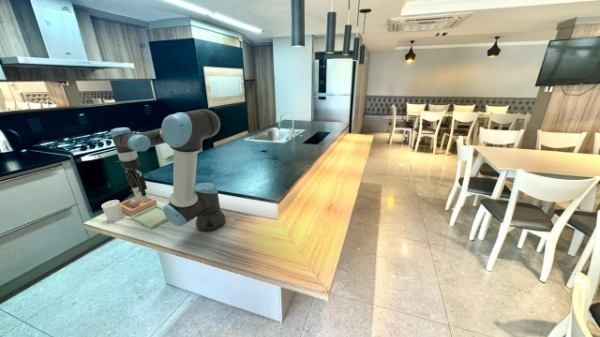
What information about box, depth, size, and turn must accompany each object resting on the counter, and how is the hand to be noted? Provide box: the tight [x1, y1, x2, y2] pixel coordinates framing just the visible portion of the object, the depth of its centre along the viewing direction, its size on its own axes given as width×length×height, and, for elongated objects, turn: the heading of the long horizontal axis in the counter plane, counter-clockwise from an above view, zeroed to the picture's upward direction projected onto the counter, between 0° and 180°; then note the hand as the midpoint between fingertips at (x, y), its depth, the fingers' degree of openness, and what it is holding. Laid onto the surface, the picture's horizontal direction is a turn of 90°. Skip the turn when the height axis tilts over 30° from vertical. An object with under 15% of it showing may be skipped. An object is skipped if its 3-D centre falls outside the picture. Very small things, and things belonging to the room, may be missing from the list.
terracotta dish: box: [120, 195, 158, 217], centre depth 139 cm, size 15×14×5 cm
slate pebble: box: [129, 199, 139, 207], centre depth 141 cm, size 5×5×5 cm
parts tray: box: [130, 204, 169, 230], centre depth 131 cm, size 20×15×2 cm
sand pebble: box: [136, 193, 142, 201], centre depth 123 cm, size 5×5×5 cm
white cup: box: [101, 199, 124, 222], centre depth 129 cm, size 8×8×10 cm
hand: (142, 199), depth 123 cm, fingers closed on sand pebble, 5 cm apart
